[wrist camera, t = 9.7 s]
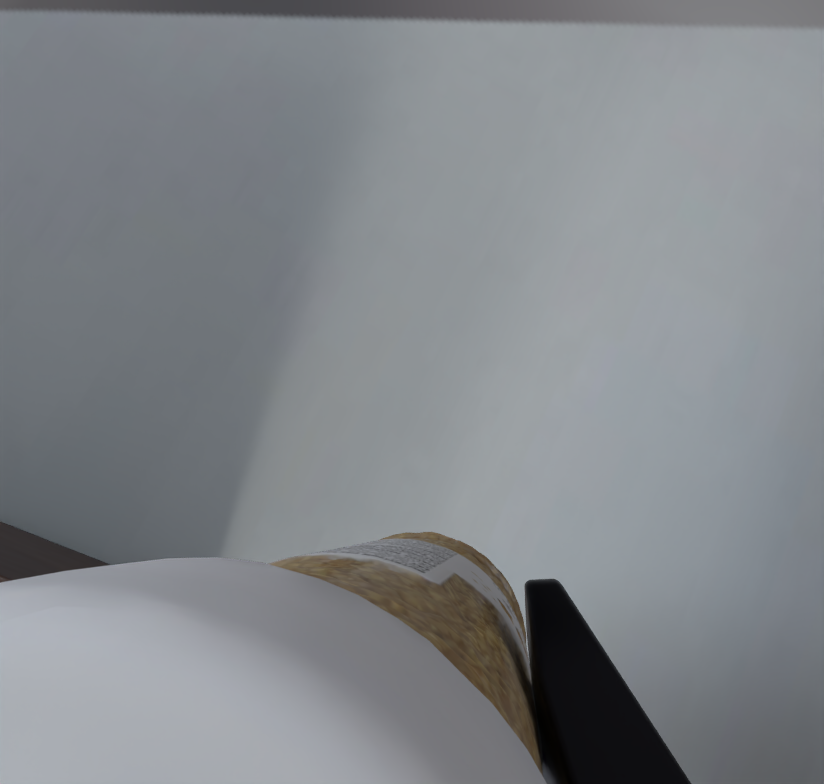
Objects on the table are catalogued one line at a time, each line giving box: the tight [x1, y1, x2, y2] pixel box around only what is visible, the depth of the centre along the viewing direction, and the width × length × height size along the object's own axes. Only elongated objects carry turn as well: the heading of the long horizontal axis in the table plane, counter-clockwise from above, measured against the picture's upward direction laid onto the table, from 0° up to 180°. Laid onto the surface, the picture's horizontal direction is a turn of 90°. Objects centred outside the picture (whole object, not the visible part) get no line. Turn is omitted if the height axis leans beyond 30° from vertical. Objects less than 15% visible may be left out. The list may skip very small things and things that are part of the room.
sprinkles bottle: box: [0, 532, 547, 784], centre depth 8 cm, size 5×5×14 cm
